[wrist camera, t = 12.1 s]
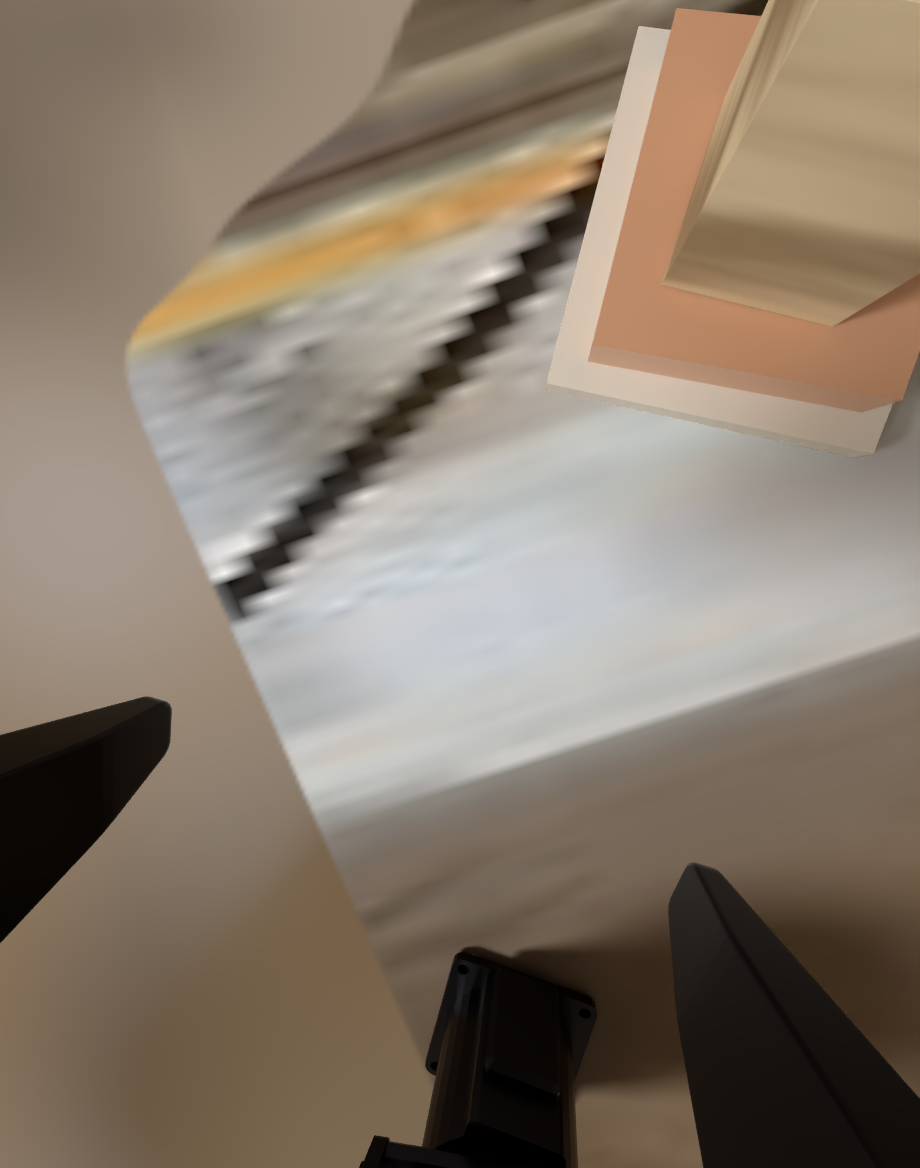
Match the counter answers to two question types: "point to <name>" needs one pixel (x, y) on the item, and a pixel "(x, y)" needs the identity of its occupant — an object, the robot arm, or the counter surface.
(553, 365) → the white slab
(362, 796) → the counter surface
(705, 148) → the terracotta tile
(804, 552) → the counter surface
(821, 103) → the maple block
